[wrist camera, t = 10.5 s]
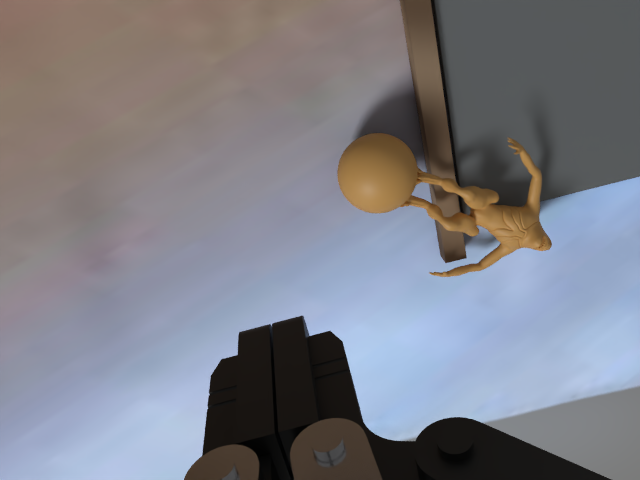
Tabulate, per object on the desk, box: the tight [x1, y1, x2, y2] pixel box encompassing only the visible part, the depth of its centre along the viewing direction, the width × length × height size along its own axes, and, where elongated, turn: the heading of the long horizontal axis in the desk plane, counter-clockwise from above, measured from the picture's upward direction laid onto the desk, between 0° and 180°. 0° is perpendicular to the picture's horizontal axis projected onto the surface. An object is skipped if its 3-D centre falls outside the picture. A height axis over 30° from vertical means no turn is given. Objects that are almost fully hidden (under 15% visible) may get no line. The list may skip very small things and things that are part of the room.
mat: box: [432, 0, 640, 215], centre depth 30 cm, size 12×12×1 cm
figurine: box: [338, 133, 552, 277], centre depth 30 cm, size 8×6×12 cm
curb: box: [400, 0, 466, 263], centre depth 30 cm, size 16×1×1 cm, turn 13°
